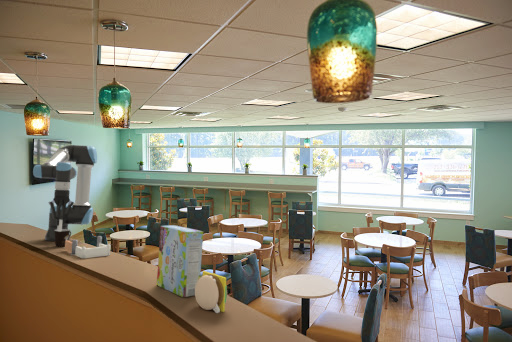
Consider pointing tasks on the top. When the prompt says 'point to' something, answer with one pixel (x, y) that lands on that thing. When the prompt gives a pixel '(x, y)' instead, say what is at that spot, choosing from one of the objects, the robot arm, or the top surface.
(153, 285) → the top surface
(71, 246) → the gate
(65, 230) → the coffee mug
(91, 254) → the paddock fence
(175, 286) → the snack box
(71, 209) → the robot arm
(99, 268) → the top surface
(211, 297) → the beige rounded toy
